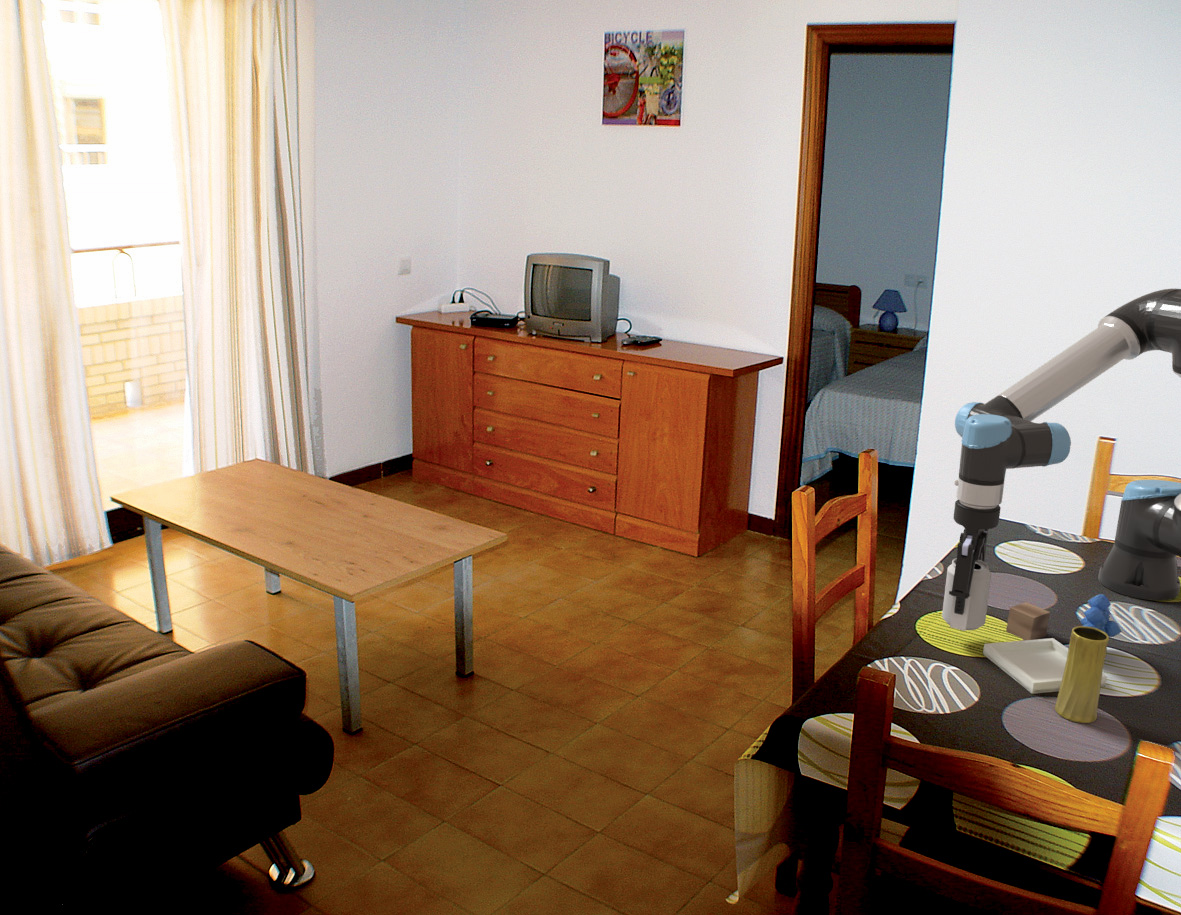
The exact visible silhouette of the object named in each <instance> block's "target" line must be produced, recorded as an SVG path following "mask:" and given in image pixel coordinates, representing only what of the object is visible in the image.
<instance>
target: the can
mask: <svg viewBox="0 0 1181 915" xmlns="http://www.w3.org/2000/svg"><path fill="white" fill-rule="evenodd" d="M956 560H957V557H956V558H953V559H952V561H951V564H950V565H949V566H947V571H946V580H945V587H944V597H943V604H942V611H941V612H942V613H941V617H942V619H943V621H945V622H946V624H947V625H948V626H950V621H951V612H952V604H953V596H951V595H950V594H949V591H952V586H953V580H954V573H955V567H956ZM975 564H978V565H980V566H981V568H979V569H974V572H973V577H972V582H971V587H970V592H969V594H970V595H969V596H970V604H969V611H968V619H967V627H966V631H975V630H978V629H979V628H981V627H983V626H984V625H985V624H986V619H987V611H988V603H989V597H990V588H991V583H992V582H991V581H992V572H991V571H990V570H989V567H990V566H989V565H988V563H987V561H985V562H984V561H982V560H978V561H976V562H975Z"/></svg>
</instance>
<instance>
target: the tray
mask: <svg viewBox="0 0 1181 915" xmlns="http://www.w3.org/2000/svg"><path fill="white" fill-rule="evenodd" d="M983 645H984V646H983V651H982V655H983V656H985V657H986V658H987V659H988V660H990V661H991V662H992V663H994V664H995V665H996V666H997V667H999V669H1001V670H1002V672H1004V673H1006V674H1007V675H1008V676H1009V677H1010V678H1012V679H1013V680H1014V681H1016V682H1017V683H1018V684H1019V685H1020V686H1022V687H1023V688H1024V689H1025V690H1026V691H1028V692H1029V693H1030V694H1031V695H1032V694H1043V693H1053V692H1059V689H1060V685H1061V682H1062V678H1063V674H1064V669H1065V664H1066V660H1067V655H1068V649H1069V647H1067V646H1065V645H1063V644H1062V643H1061V642H1059V641H1058V640H1056V639H1055V638H1054V637H1051V638H1040V639H1037V640H1013V641H1006V642H1005V641H1002V642H992V643H984V644H983ZM1107 677H1108V675H1106V674H1105V673H1103V672H1102V679H1101V687H1100V688H1103V687H1105V688H1106V684H1107V683H1106V682H1107Z"/></svg>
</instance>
